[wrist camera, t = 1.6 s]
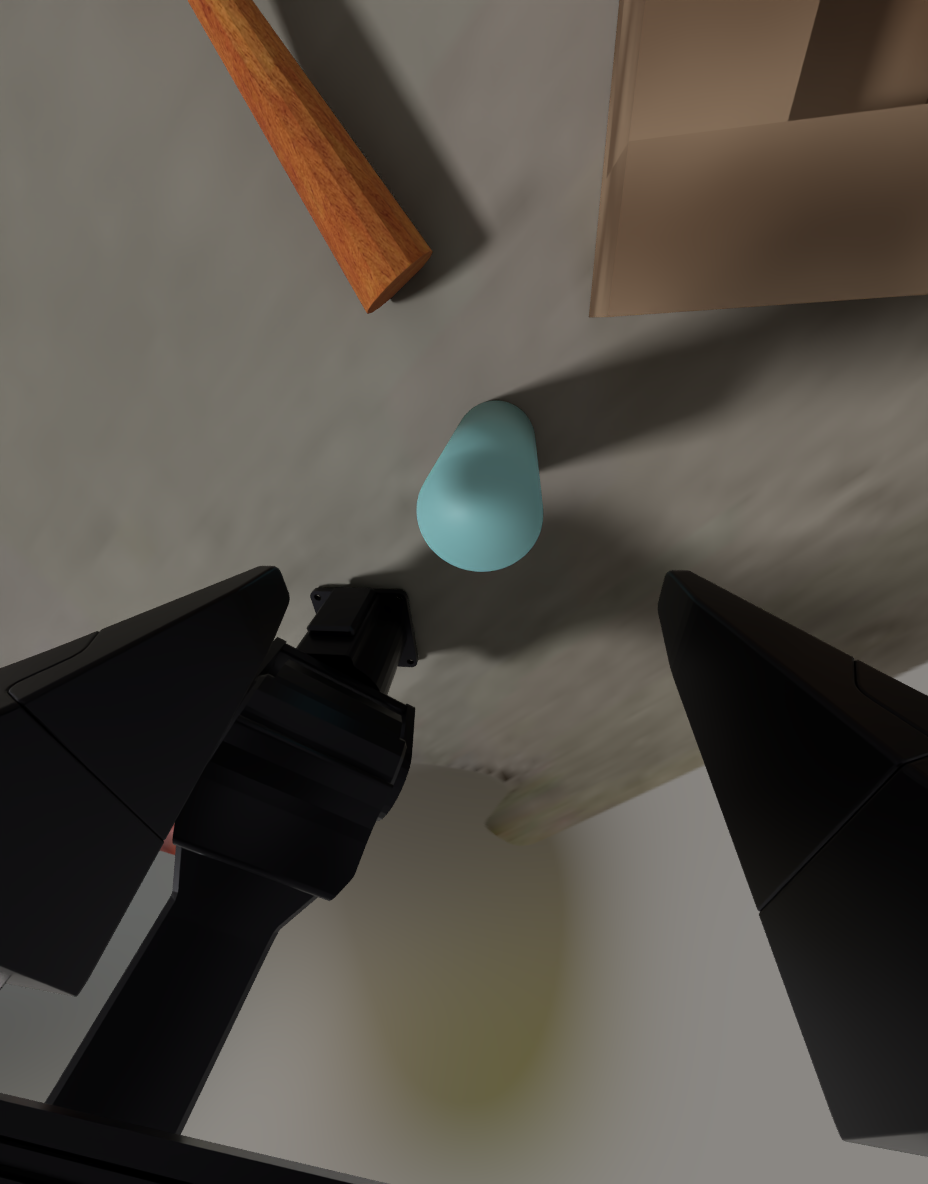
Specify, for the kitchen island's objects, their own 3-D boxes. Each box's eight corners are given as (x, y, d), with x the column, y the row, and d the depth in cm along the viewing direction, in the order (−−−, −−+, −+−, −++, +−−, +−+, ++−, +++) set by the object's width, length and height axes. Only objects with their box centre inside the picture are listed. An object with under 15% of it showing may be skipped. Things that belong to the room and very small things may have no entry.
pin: (533, 482, 21) (539, 572, 13) (458, 483, 21) (424, 571, 14) (537, 398, 19) (546, 450, 11) (452, 402, 19) (408, 454, 12)
